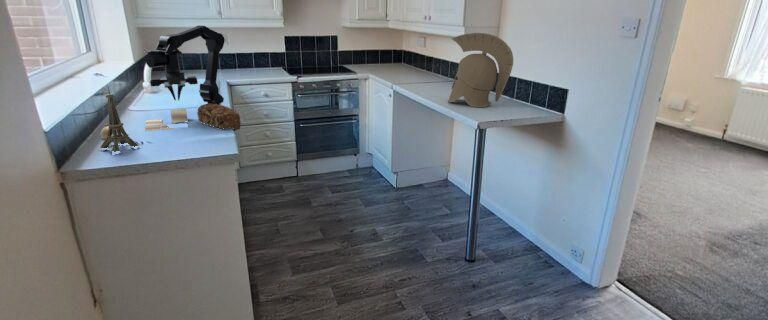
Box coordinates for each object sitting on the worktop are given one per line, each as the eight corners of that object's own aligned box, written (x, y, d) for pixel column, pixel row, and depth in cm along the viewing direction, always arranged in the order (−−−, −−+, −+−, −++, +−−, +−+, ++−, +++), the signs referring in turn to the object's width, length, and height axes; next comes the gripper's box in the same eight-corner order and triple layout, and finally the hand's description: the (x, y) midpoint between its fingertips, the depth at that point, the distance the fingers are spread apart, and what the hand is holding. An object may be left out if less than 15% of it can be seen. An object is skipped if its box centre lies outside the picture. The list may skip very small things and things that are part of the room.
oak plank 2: (170, 112, 198) (170, 109, 197) (186, 111, 200) (185, 108, 199) (172, 125, 194) (172, 123, 193) (188, 124, 196) (188, 121, 195)
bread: (198, 125, 196) (195, 104, 193) (220, 121, 204) (217, 100, 200) (220, 134, 185) (217, 111, 181) (242, 129, 192) (240, 107, 189)
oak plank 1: (146, 123, 195) (145, 120, 195) (162, 122, 198) (161, 119, 198) (146, 128, 189) (145, 125, 188) (162, 127, 192) (162, 124, 191)
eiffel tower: (114, 155, 156) (100, 86, 148) (97, 150, 161) (83, 83, 152) (142, 148, 165) (130, 82, 156) (125, 143, 170) (113, 79, 161)
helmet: (452, 98, 269) (457, 30, 255) (510, 104, 254) (519, 34, 241) (441, 104, 252) (446, 32, 238) (503, 111, 237) (512, 35, 224)
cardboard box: (146, 129, 188) (145, 125, 188) (188, 125, 195) (188, 122, 195) (145, 134, 181) (144, 131, 180) (189, 130, 188) (189, 127, 187)
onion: (125, 136, 178) (122, 120, 175) (125, 142, 171) (122, 124, 169) (102, 139, 174) (99, 122, 172) (101, 144, 168) (98, 127, 165)
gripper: (147, 68, 179) (153, 105, 185) (196, 66, 187) (200, 102, 192) (148, 65, 189) (153, 100, 194) (194, 63, 197) (198, 97, 202)
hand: (177, 100), depth 195 cm, fingers closed
